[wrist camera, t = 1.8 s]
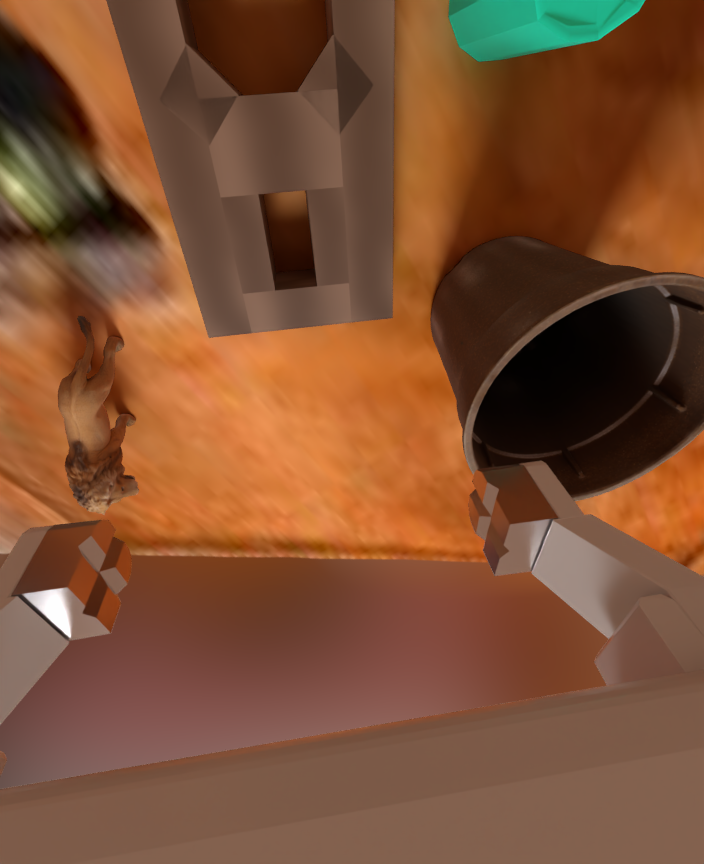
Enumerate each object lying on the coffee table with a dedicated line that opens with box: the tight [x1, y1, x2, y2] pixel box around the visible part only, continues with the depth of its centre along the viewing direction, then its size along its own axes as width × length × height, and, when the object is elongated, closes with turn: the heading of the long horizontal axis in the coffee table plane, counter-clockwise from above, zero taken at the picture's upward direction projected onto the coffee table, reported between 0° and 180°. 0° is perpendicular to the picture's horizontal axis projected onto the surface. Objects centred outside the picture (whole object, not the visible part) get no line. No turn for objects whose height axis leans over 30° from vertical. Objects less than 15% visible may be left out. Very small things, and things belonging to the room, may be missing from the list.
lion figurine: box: [58, 316, 139, 515], centre depth 33 cm, size 15×5×9 cm, turn 176°
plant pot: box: [431, 236, 704, 501], centre depth 30 cm, size 16×16×16 cm
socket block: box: [106, 0, 395, 338], centre depth 25 cm, size 14×24×4 cm, turn 3°
